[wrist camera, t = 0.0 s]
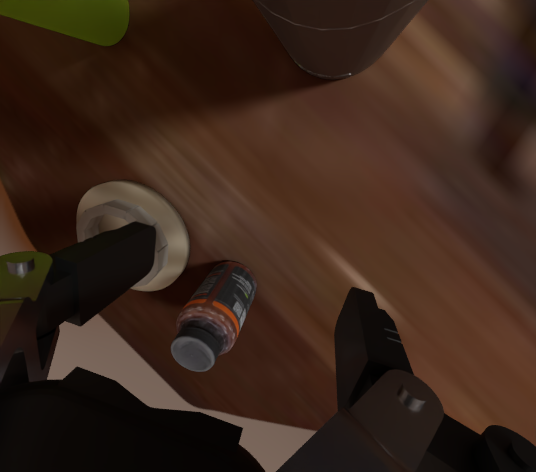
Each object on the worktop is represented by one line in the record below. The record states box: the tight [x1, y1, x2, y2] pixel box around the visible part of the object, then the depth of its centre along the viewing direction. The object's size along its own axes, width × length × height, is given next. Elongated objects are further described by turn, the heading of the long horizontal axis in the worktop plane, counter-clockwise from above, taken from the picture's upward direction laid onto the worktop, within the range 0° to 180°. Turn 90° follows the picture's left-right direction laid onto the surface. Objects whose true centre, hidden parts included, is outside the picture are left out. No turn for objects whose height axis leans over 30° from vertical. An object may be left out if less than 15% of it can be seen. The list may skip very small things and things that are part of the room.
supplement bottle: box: [171, 261, 257, 372], centre depth 27 cm, size 6×6×11 cm
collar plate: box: [76, 180, 190, 291], centre depth 31 cm, size 14×14×4 cm
